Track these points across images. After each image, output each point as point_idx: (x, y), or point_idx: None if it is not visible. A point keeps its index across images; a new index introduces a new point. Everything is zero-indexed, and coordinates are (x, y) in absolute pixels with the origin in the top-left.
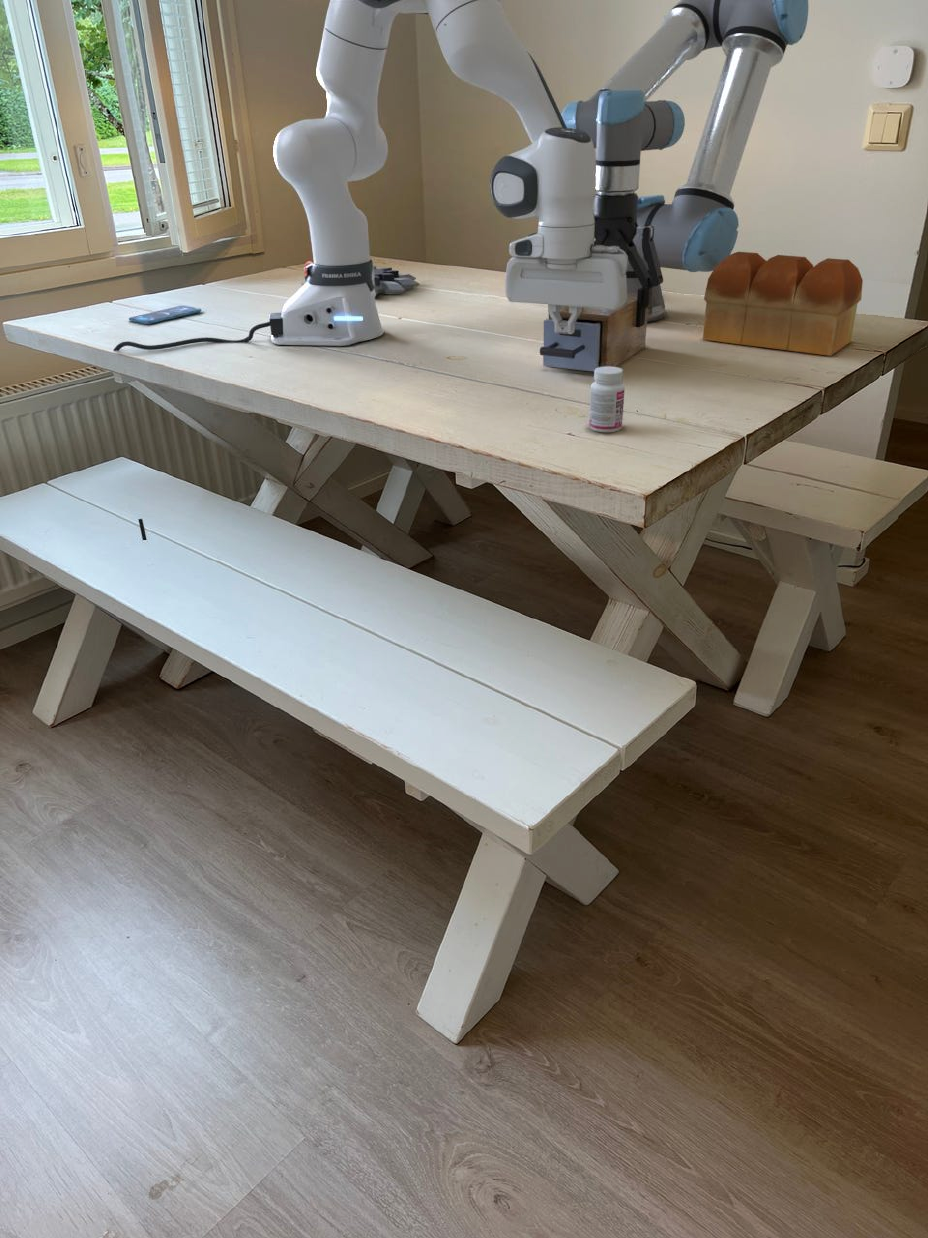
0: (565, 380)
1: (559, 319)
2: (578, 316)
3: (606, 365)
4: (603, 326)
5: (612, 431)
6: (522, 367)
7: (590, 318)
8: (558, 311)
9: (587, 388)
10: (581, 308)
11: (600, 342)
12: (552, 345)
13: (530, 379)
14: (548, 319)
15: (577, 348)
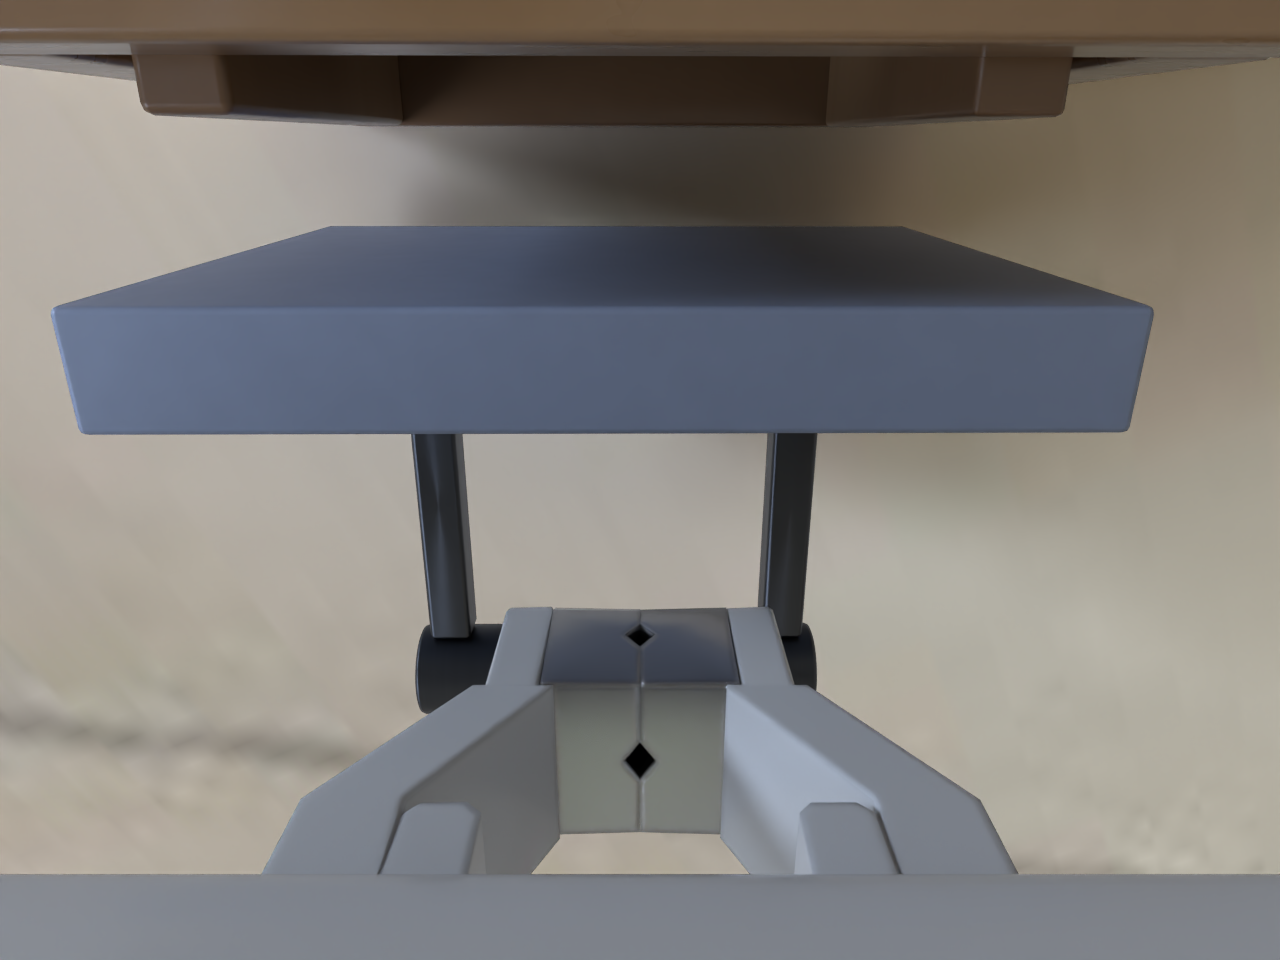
0: (662, 457)
1: (538, 780)
2: (881, 737)
3: None
4: (1129, 68)
5: None
6: (99, 227)
7: (898, 54)
8: (443, 781)
9: (904, 582)
10: (1000, 860)
11: None
12: (456, 505)
13: (389, 541)
14: (97, 321)
15: (787, 513)
